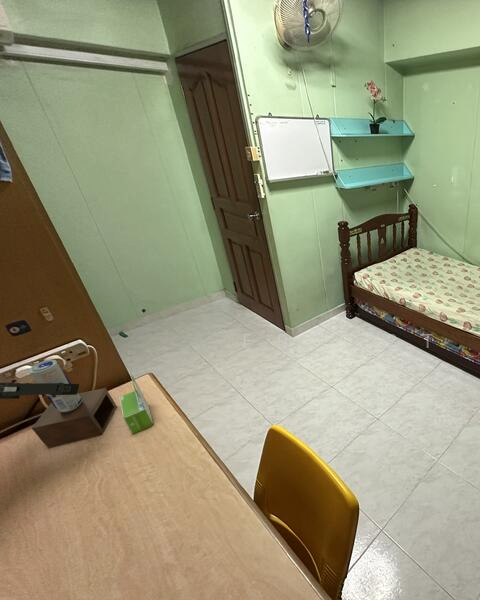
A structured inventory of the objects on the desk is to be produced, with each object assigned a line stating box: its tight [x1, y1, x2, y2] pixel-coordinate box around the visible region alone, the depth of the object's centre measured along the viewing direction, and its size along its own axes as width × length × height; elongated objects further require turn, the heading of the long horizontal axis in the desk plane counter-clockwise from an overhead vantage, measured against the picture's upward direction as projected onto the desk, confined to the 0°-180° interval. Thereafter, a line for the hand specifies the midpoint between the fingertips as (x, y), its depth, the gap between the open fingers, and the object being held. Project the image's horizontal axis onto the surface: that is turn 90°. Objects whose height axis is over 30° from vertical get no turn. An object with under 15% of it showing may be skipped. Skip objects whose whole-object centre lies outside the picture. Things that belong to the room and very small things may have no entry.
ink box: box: [118, 372, 154, 435], centre depth 90 cm, size 10×5×14 cm, turn 43°
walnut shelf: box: [31, 387, 118, 449], centre depth 89 cm, size 12×11×8 cm
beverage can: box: [28, 359, 82, 412], centre depth 83 cm, size 5×5×15 cm
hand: (48, 391), depth 81 cm, fingers open, 13 cm apart
